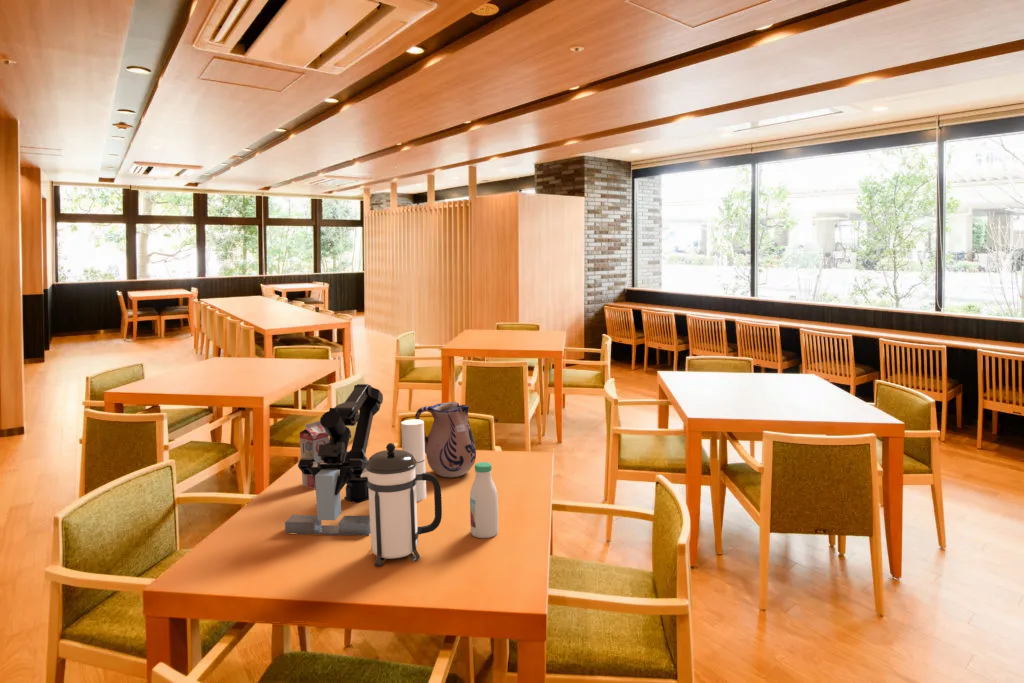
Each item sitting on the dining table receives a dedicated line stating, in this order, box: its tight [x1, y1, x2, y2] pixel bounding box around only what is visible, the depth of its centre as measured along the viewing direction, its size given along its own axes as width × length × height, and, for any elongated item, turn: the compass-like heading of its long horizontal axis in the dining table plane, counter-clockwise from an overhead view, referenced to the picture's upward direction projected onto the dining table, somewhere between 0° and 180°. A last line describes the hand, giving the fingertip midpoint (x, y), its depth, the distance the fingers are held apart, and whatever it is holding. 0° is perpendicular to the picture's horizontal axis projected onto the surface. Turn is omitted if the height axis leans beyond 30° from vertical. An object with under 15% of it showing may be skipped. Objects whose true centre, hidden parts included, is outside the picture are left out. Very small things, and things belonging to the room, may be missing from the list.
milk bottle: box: [469, 461, 499, 539], centre depth 177 cm, size 8×8×20 cm
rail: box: [284, 514, 371, 537], centre depth 181 cm, size 5×24×4 cm, turn 85°
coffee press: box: [361, 442, 443, 568], centre depth 165 cm, size 17×16×30 cm
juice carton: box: [299, 420, 330, 489], centre depth 218 cm, size 7×7×22 cm
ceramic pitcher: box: [414, 401, 477, 479], centre depth 226 cm, size 18×21×25 cm
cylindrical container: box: [400, 418, 427, 502], centre depth 204 cm, size 7×7×25 cm
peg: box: [315, 470, 342, 521], centre depth 180 cm, size 5×5×13 cm
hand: (326, 494), depth 178 cm, fingers closed on peg, 5 cm apart
